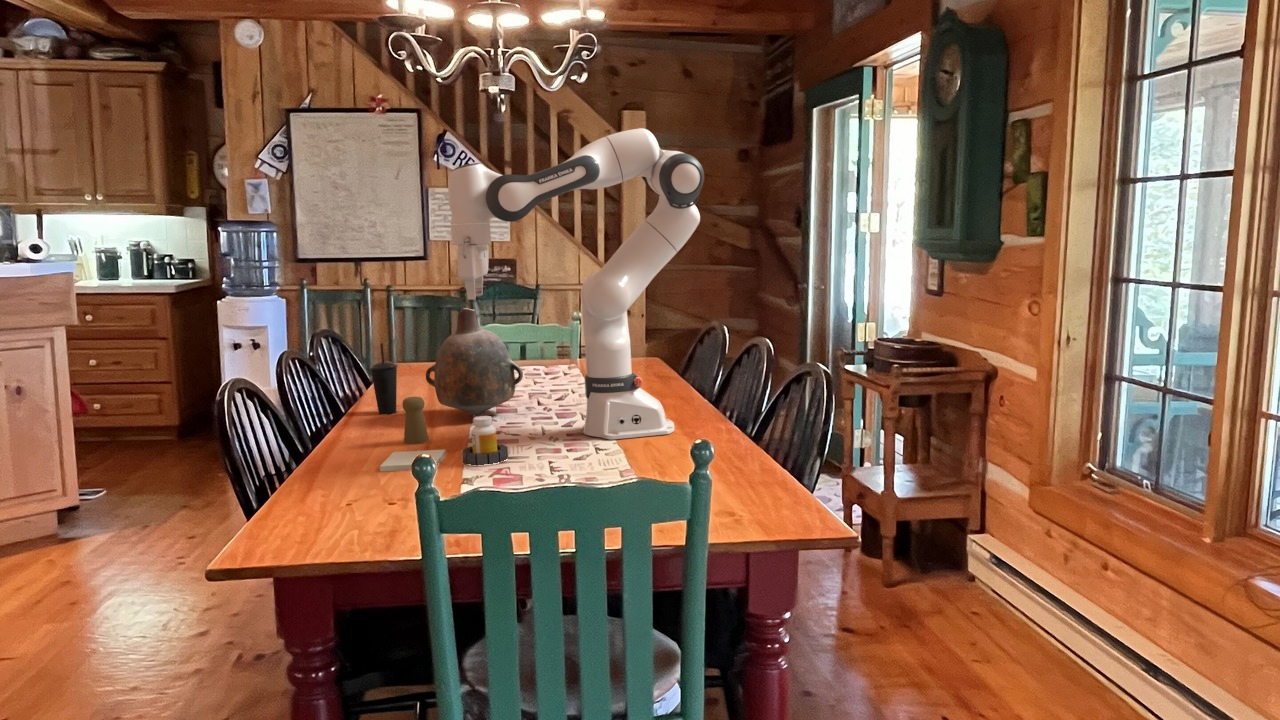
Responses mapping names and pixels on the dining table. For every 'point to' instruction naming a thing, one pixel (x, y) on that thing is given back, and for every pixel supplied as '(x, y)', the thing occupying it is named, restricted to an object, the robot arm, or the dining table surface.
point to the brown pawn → (414, 421)
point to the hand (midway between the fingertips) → (475, 297)
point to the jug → (473, 368)
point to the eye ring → (485, 456)
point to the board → (409, 459)
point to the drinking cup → (385, 384)
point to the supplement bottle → (483, 435)
